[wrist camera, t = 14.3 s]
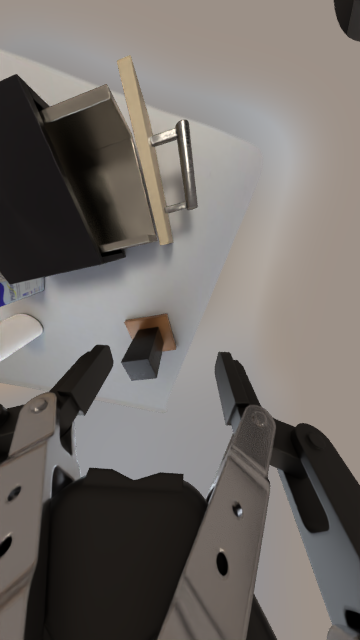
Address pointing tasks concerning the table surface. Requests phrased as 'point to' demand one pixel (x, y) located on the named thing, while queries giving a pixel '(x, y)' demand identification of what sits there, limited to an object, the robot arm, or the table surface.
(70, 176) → the drawer
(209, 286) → the table surface
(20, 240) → the black storage cabinet
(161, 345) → the block
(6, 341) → the can
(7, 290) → the box
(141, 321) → the plate
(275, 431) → the robot arm
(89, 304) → the table surface
